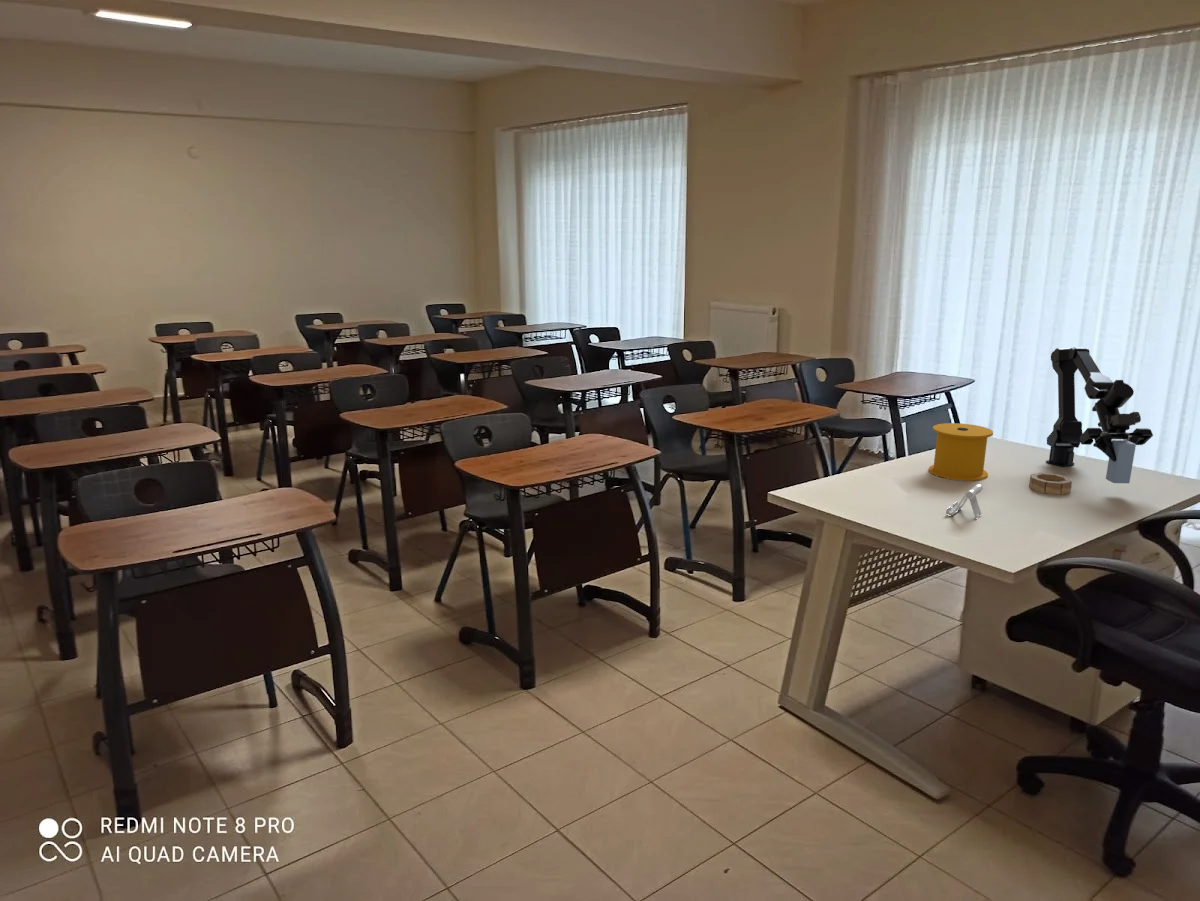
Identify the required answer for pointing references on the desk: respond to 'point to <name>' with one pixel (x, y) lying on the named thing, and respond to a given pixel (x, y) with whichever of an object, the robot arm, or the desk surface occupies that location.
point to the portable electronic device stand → (969, 495)
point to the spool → (960, 451)
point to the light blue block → (1121, 462)
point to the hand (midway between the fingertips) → (1123, 461)
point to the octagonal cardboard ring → (1050, 483)
